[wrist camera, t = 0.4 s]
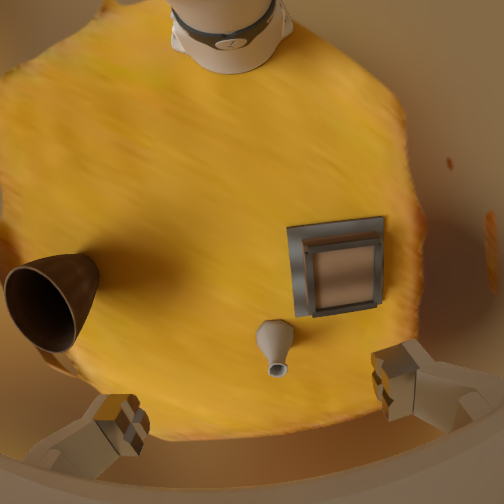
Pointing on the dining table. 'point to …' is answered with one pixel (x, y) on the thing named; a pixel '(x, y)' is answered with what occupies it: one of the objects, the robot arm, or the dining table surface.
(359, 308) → the walnut plinth
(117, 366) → the dining table surface
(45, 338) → the plant pot
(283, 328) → the flask
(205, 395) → the dining table surface
